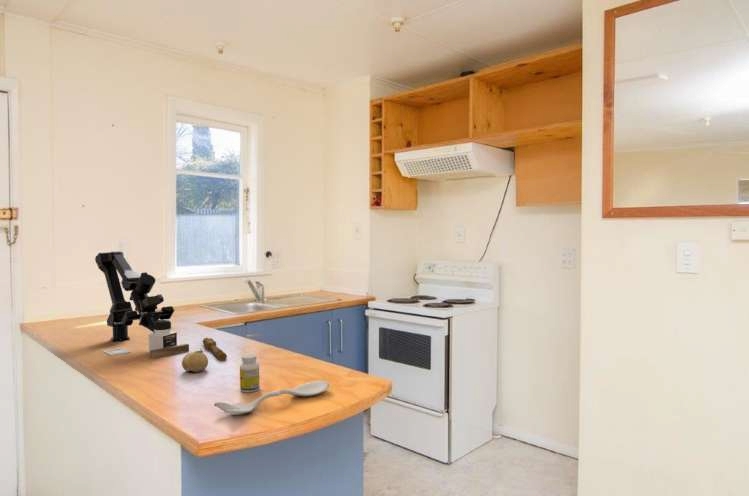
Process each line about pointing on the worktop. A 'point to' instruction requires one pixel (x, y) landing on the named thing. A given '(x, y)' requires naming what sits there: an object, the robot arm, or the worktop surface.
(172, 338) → the medicine bottle
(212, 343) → the tap handle
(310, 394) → the spoon
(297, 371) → the worktop surface
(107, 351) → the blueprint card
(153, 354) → the stop bar
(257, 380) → the supplement bottle
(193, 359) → the onion
